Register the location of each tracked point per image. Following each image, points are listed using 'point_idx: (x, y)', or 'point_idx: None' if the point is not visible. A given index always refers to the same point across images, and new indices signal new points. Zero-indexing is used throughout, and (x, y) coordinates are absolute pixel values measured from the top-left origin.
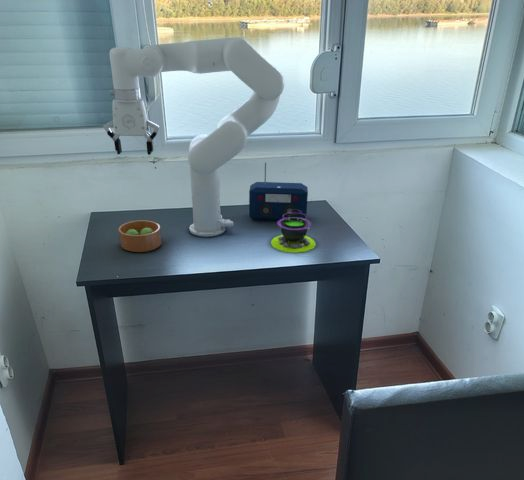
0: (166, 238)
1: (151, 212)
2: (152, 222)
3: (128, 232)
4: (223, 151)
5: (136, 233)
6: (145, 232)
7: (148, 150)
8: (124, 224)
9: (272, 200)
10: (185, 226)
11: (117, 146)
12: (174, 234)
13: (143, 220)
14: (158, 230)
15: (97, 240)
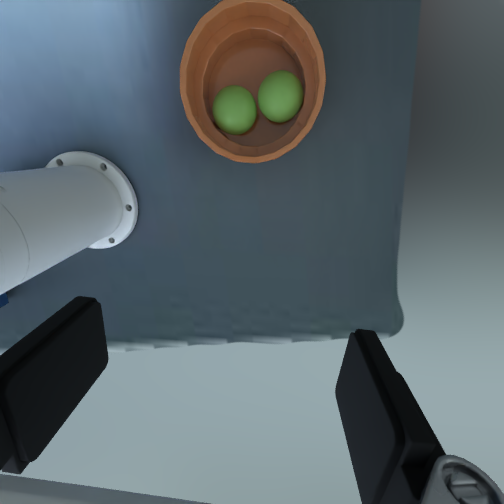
0: (190, 148)
1: (252, 323)
2: (213, 142)
3: (290, 80)
4: None
5: (264, 84)
6: (234, 89)
7: (61, 316)
8: (306, 124)
9: None
10: (154, 231)
11: (389, 382)
12: (173, 177)
13: (245, 160)
14: (181, 61)
15: (388, 140)
